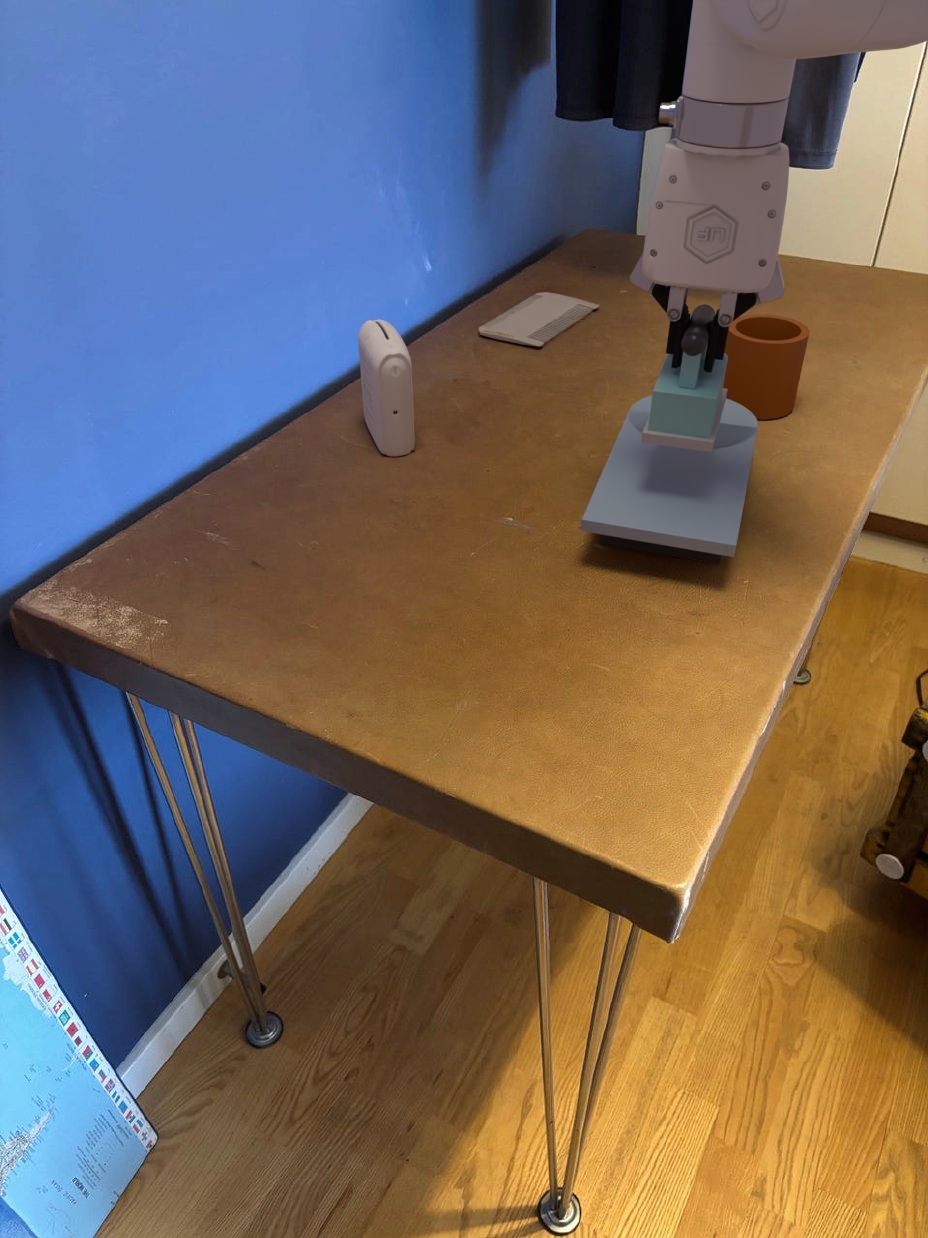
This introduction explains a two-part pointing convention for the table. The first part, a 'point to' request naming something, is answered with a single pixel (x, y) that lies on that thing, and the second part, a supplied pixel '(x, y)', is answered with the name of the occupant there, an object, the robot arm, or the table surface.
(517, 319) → the grooming comb
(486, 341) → the table surface
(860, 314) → the table surface
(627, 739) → the table surface
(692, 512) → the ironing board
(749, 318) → the brown cup
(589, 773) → the table surface
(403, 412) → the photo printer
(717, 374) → the iron
